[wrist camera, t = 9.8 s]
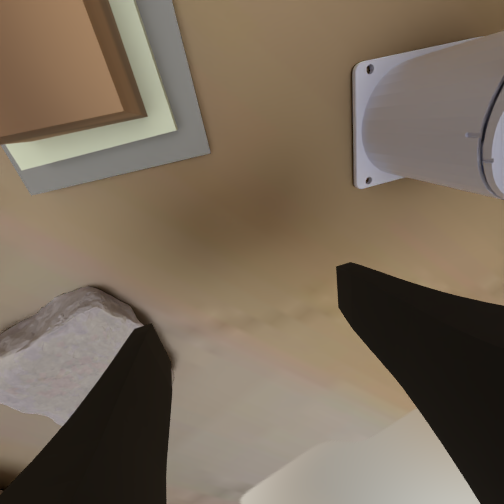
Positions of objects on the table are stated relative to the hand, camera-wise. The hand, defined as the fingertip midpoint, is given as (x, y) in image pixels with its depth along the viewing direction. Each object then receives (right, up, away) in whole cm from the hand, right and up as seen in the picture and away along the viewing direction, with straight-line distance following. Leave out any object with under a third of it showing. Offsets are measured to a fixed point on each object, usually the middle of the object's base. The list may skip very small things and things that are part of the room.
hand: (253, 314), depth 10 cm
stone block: (-12, -6, +12) cm, 18 cm away
